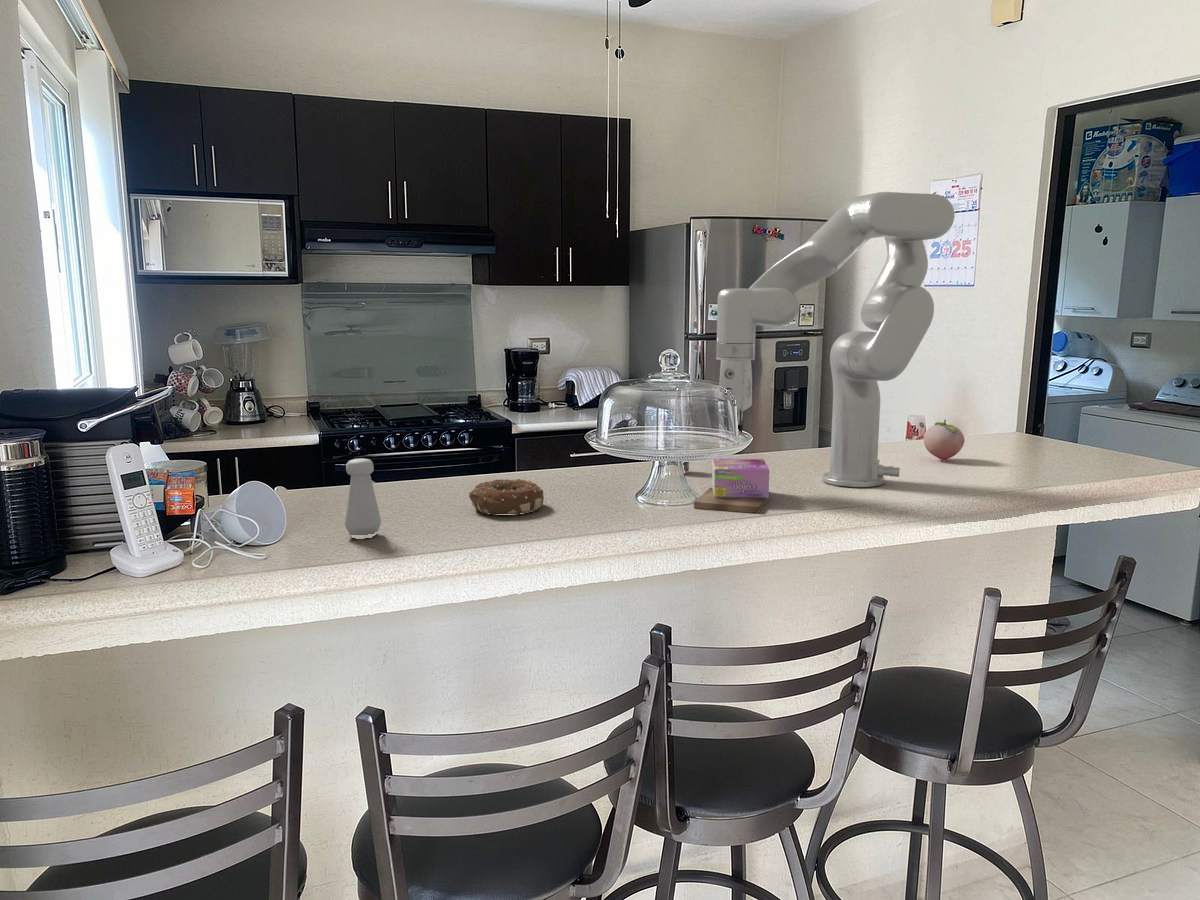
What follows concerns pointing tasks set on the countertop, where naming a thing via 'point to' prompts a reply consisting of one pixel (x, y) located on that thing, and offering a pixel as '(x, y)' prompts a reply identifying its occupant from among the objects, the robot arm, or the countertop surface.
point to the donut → (507, 496)
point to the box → (740, 478)
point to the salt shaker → (361, 499)
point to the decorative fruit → (943, 440)
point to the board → (730, 503)
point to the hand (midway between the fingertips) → (733, 444)
